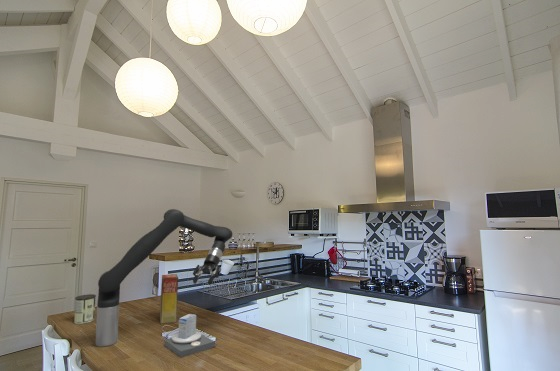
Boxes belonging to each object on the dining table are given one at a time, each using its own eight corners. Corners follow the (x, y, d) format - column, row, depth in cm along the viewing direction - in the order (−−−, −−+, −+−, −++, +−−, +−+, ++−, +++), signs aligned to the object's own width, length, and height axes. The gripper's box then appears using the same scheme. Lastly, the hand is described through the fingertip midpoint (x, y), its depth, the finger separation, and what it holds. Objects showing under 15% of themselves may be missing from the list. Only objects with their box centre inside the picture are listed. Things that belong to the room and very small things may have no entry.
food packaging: (177, 321, 179) (178, 277, 182) (159, 324, 175) (161, 278, 178) (176, 315, 191) (177, 273, 194) (159, 317, 188) (160, 274, 191)
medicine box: (188, 332, 150) (188, 313, 151) (196, 333, 149) (196, 314, 150) (178, 338, 142) (178, 318, 143) (186, 339, 141) (186, 319, 142)
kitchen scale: (164, 345, 145) (164, 336, 145) (196, 336, 155) (196, 328, 156) (180, 357, 131) (181, 347, 132) (214, 347, 142) (214, 337, 142)
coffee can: (82, 318, 188) (83, 294, 190) (98, 318, 187) (99, 294, 189) (69, 323, 178) (70, 298, 179) (86, 324, 177) (87, 298, 178)
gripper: (199, 253, 171) (186, 278, 159) (222, 253, 167) (211, 279, 155) (204, 261, 176) (192, 286, 163) (227, 262, 171) (216, 288, 159)
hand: (201, 283), depth 159 cm, fingers open, 8 cm apart
